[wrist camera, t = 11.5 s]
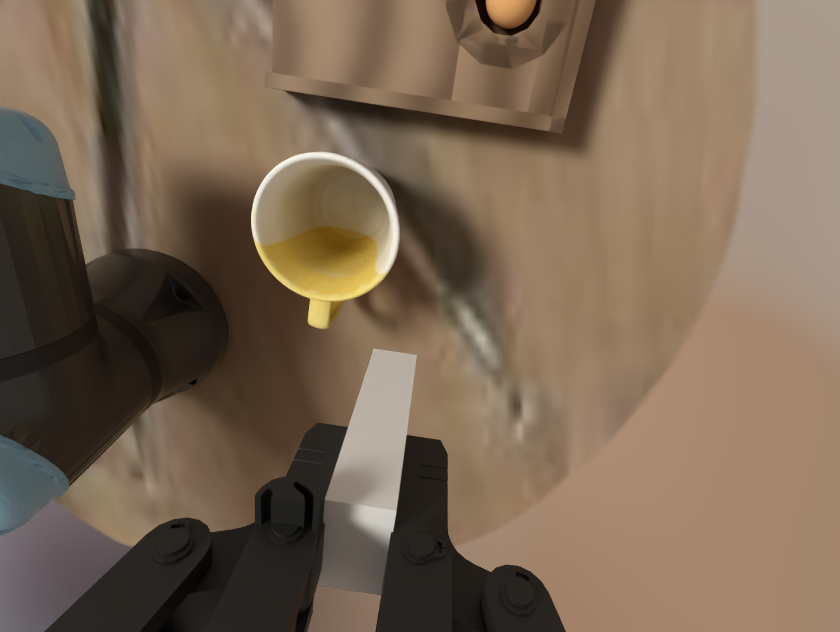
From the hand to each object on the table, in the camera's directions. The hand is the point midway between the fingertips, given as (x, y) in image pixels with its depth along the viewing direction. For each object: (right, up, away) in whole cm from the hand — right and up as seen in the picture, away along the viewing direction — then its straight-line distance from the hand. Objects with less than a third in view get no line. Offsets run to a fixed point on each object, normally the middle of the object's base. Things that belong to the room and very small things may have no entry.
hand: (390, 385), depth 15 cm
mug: (-6, +11, +25) cm, 28 cm away
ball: (+7, +25, +15) cm, 30 cm away
